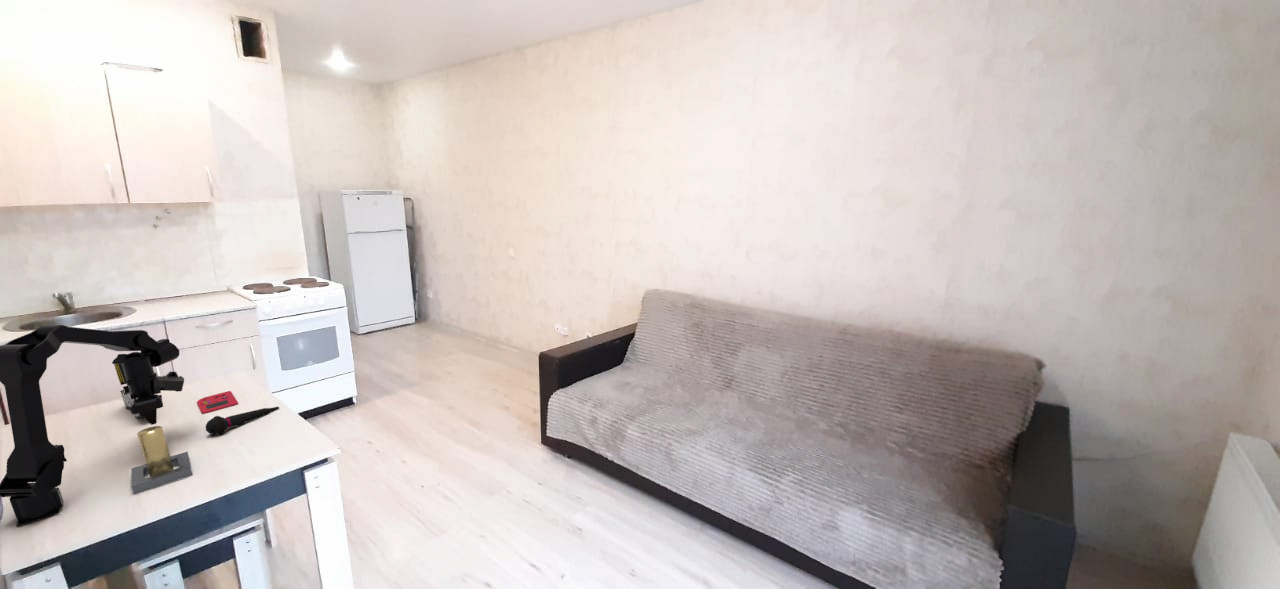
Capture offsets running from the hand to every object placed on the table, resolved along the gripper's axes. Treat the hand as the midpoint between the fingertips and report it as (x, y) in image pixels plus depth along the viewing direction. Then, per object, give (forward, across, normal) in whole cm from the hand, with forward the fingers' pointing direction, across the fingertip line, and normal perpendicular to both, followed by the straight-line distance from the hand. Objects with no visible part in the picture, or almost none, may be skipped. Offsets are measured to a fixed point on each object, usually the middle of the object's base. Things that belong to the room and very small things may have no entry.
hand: (153, 423), depth 144 cm
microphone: (+7, -2, -20) cm, 21 cm away
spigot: (+7, -22, 0) cm, 23 cm away
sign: (+7, +31, +4) cm, 32 cm away
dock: (+7, -22, 0) cm, 23 cm away
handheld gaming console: (+7, +23, -15) cm, 29 cm away
